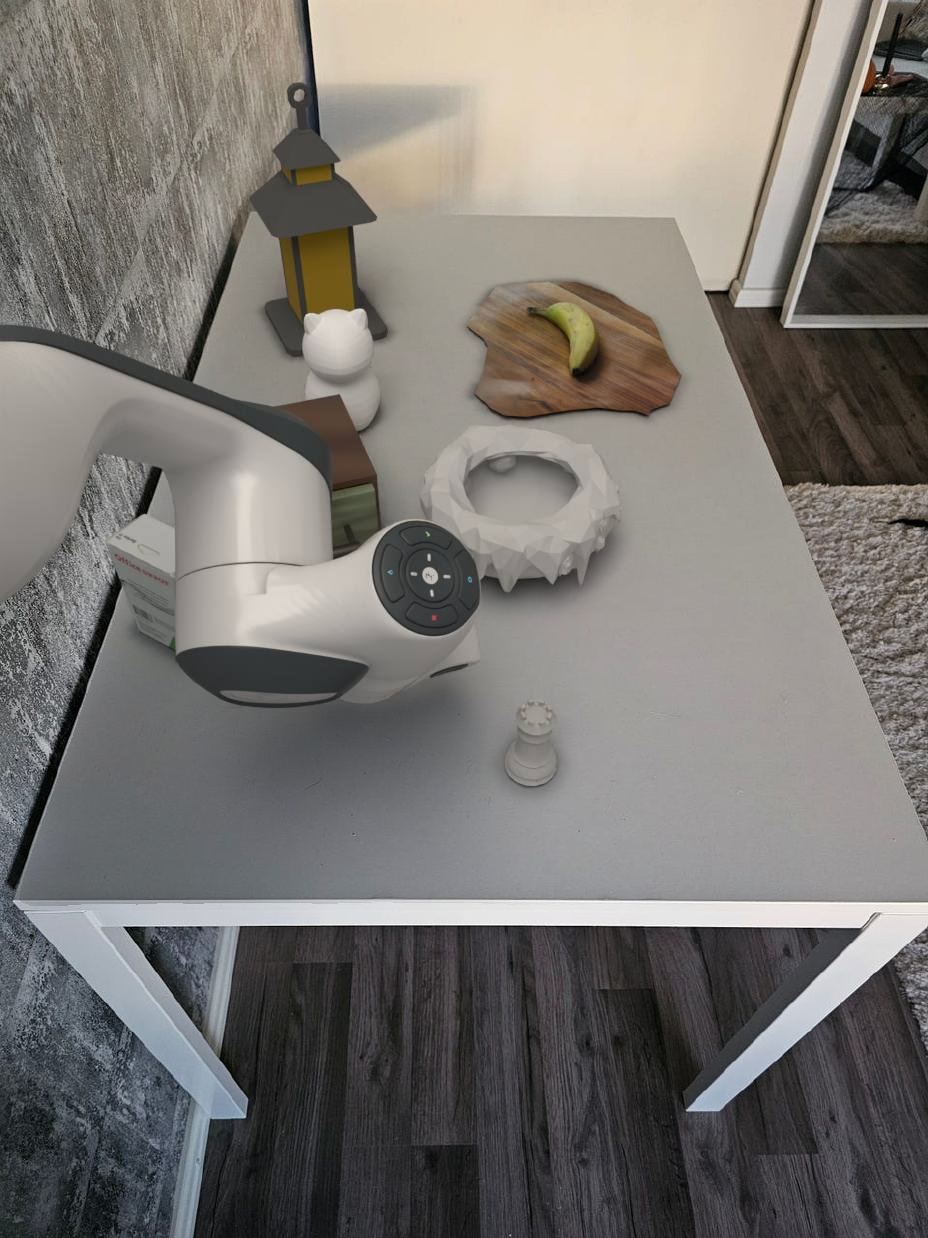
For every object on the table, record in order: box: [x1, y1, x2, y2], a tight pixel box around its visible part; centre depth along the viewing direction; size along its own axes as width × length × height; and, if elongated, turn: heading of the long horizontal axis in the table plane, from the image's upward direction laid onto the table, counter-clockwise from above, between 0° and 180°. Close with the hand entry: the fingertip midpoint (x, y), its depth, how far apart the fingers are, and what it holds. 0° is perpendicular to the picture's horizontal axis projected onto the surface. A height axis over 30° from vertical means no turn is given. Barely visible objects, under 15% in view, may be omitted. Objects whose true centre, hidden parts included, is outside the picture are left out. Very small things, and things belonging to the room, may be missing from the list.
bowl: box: [418, 424, 625, 593], centre depth 93 cm, size 21×20×10 cm
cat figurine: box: [302, 309, 382, 432], centre depth 107 cm, size 9×12×15 cm
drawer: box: [331, 483, 378, 560], centre depth 93 cm, size 18×12×8 cm
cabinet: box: [274, 394, 382, 532], centre depth 96 cm, size 15×14×10 cm
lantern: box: [248, 81, 388, 357], centre depth 116 cm, size 14×14×30 cm
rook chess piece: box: [504, 698, 557, 787], centre depth 75 cm, size 4×4×8 cm
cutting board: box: [466, 281, 682, 418], centre depth 122 cm, size 35×27×4 cm
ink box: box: [105, 513, 176, 651], centre depth 83 cm, size 9×5×12 cm, turn 58°
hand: (329, 677), depth 79 cm, fingers closed
